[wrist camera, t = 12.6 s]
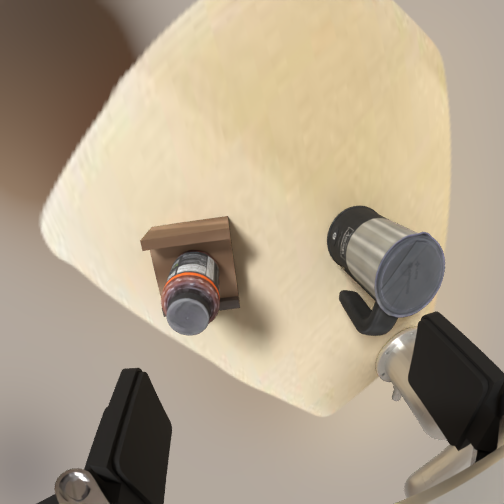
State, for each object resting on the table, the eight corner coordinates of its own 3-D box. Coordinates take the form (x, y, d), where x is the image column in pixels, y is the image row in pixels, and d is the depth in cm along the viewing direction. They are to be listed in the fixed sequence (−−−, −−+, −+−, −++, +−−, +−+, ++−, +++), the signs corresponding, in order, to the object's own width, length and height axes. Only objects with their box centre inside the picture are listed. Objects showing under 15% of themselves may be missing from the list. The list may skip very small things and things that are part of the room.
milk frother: (325, 206, 39) (377, 239, 25) (419, 199, 40) (488, 225, 26) (326, 301, 44) (365, 362, 30) (413, 284, 45) (466, 330, 31)
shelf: (238, 296, 42) (241, 319, 37) (169, 305, 42) (162, 328, 36) (227, 216, 38) (228, 228, 33) (151, 227, 38) (140, 240, 32)
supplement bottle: (213, 297, 39) (211, 351, 28) (168, 285, 38) (150, 336, 27) (225, 255, 37) (227, 299, 26) (178, 242, 36) (161, 282, 25)
